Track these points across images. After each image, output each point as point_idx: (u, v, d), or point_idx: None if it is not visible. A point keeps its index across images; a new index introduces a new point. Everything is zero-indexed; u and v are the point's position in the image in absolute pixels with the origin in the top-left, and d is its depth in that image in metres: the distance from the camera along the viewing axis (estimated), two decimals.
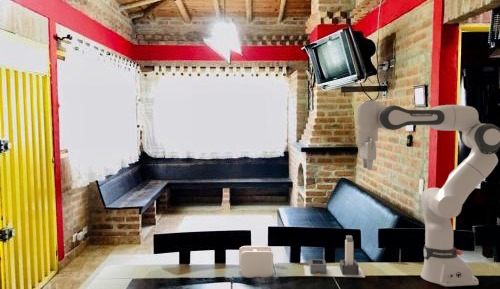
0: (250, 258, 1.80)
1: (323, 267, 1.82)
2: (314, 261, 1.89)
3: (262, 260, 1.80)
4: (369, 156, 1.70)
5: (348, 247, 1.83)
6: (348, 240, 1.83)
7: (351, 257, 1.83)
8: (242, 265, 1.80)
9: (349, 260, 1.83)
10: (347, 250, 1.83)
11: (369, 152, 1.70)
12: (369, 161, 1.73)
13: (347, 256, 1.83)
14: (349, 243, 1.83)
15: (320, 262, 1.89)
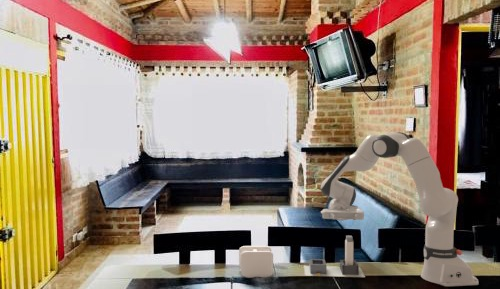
0: (250, 258, 1.80)
1: (323, 267, 1.82)
2: (314, 261, 1.89)
3: (262, 260, 1.80)
4: (322, 216, 2.03)
5: (348, 247, 1.83)
6: (348, 240, 1.83)
7: (351, 257, 1.83)
8: (242, 265, 1.80)
9: (349, 260, 1.83)
10: (347, 250, 1.83)
11: None
12: (330, 216, 2.00)
13: (347, 256, 1.83)
14: (349, 243, 1.83)
15: (320, 262, 1.89)
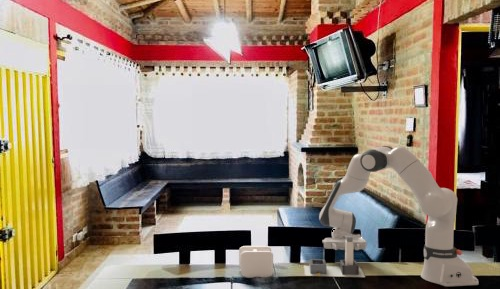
0: (250, 258, 1.80)
1: (323, 267, 1.82)
2: (314, 261, 1.89)
3: (262, 260, 1.80)
4: (324, 246, 1.99)
5: (348, 247, 1.83)
6: (348, 240, 1.83)
7: (351, 257, 1.83)
8: (242, 265, 1.80)
9: (349, 260, 1.83)
10: (347, 250, 1.83)
11: None
12: (331, 246, 1.97)
13: (347, 256, 1.83)
14: (349, 243, 1.83)
15: (320, 262, 1.89)
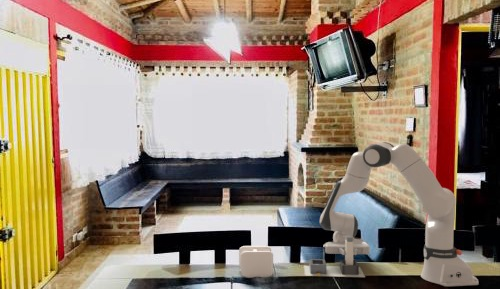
0: (250, 258, 1.80)
1: (323, 267, 1.82)
2: (314, 261, 1.89)
3: (262, 260, 1.80)
4: (325, 251, 1.91)
5: (348, 247, 1.83)
6: (348, 240, 1.83)
7: (351, 257, 1.83)
8: (242, 265, 1.80)
9: (349, 260, 1.83)
10: (347, 250, 1.83)
11: (325, 250, 1.93)
12: (339, 251, 1.88)
13: (347, 256, 1.83)
14: (349, 243, 1.83)
15: (320, 262, 1.89)
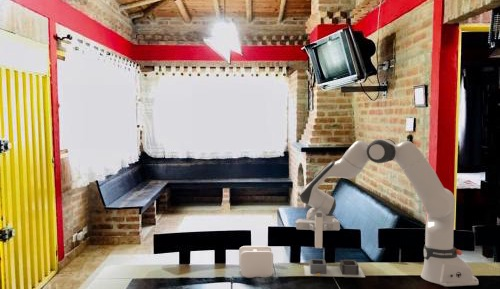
0: (250, 258, 1.80)
1: (323, 267, 1.82)
2: (314, 261, 1.89)
3: (262, 260, 1.80)
4: (296, 227, 1.92)
5: (317, 222, 1.84)
6: (317, 215, 1.84)
7: (320, 232, 1.84)
8: (242, 265, 1.80)
9: (319, 235, 1.84)
10: (316, 225, 1.84)
11: None
12: (309, 227, 1.89)
13: (316, 231, 1.84)
14: (318, 218, 1.83)
15: (320, 262, 1.89)
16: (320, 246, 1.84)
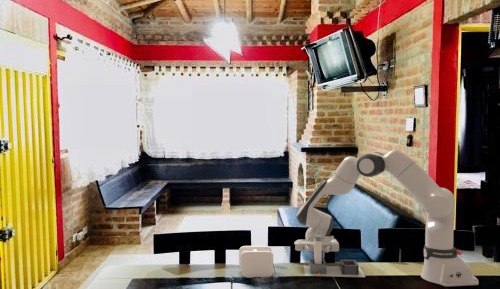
0: (250, 258, 1.80)
1: (323, 267, 1.82)
2: None
3: (262, 260, 1.80)
4: (295, 248, 1.92)
5: (316, 246, 1.84)
6: (316, 239, 1.84)
7: (319, 256, 1.84)
8: (242, 265, 1.80)
9: (318, 259, 1.84)
10: (315, 249, 1.84)
11: None
12: (304, 248, 1.89)
13: (315, 255, 1.84)
14: (317, 242, 1.84)
15: None
16: None
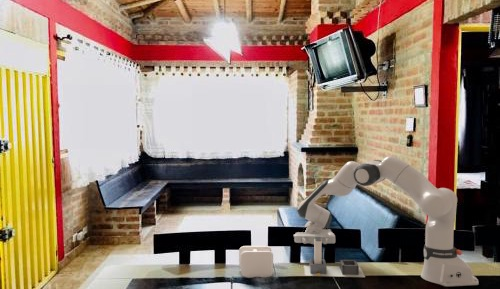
0: (250, 258, 1.80)
1: (323, 267, 1.82)
2: None
3: (262, 260, 1.80)
4: (294, 240, 2.05)
5: (316, 246, 1.84)
6: (316, 239, 1.84)
7: (319, 256, 1.84)
8: (242, 265, 1.80)
9: (318, 259, 1.84)
10: (315, 249, 1.84)
11: None
12: (301, 240, 2.02)
13: (315, 255, 1.84)
14: (317, 242, 1.84)
15: None
16: None
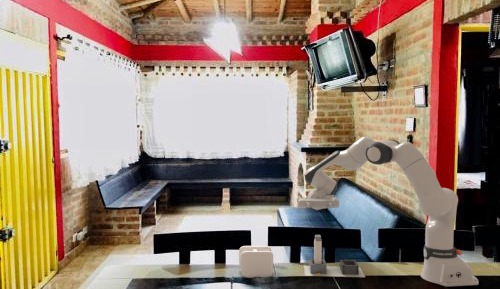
0: (250, 258, 1.80)
1: (323, 267, 1.82)
2: None
3: (262, 260, 1.80)
4: (298, 205, 2.06)
5: (316, 246, 1.84)
6: (316, 239, 1.84)
7: (319, 256, 1.84)
8: (242, 265, 1.80)
9: (318, 259, 1.84)
10: (315, 249, 1.84)
11: None
12: (305, 205, 2.03)
13: (315, 255, 1.84)
14: (317, 242, 1.84)
15: None
16: None
